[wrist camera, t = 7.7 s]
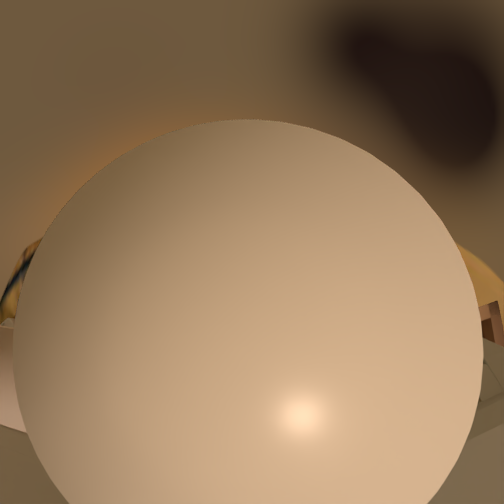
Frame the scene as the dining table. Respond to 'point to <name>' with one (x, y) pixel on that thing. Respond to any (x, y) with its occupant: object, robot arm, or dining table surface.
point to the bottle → (247, 328)
